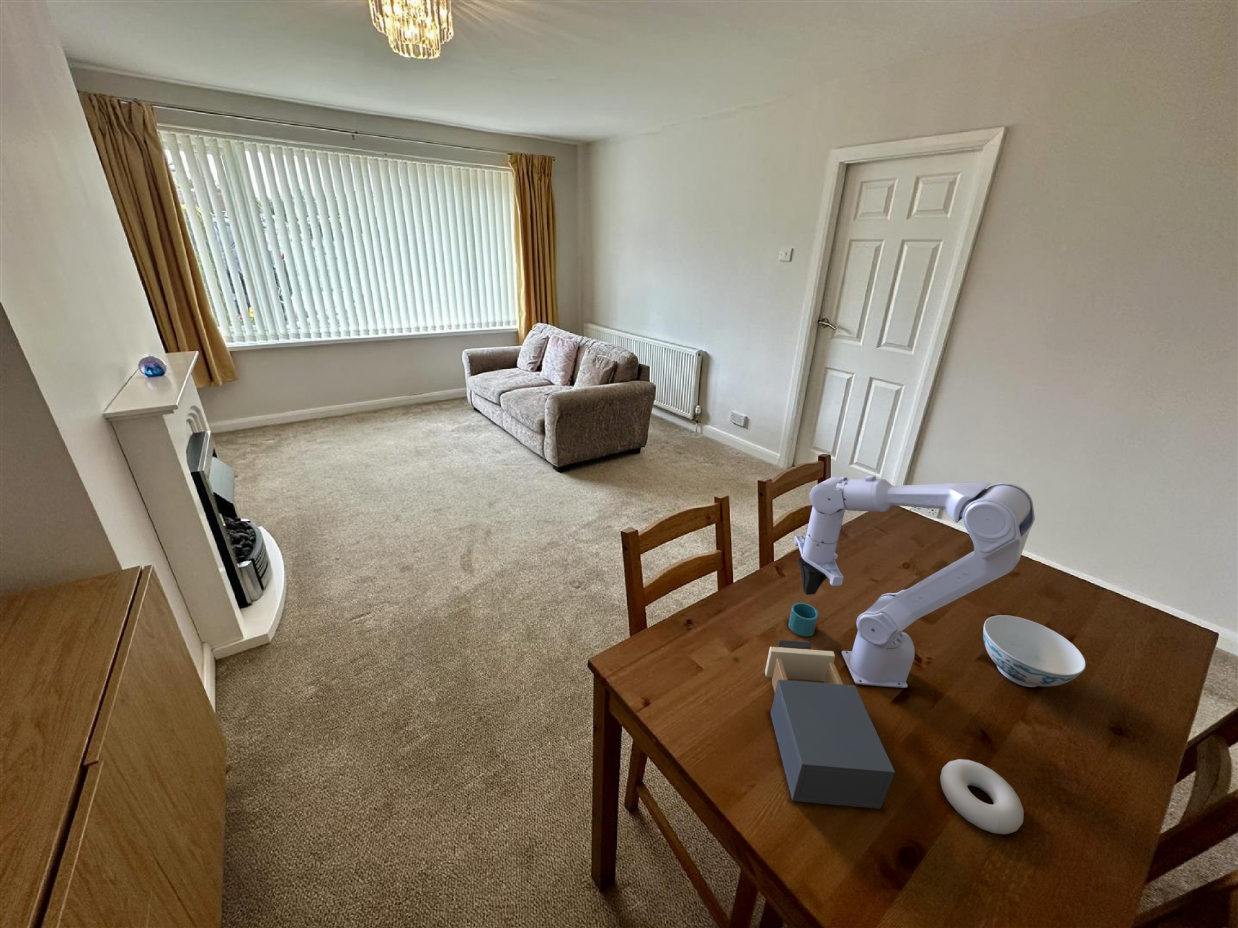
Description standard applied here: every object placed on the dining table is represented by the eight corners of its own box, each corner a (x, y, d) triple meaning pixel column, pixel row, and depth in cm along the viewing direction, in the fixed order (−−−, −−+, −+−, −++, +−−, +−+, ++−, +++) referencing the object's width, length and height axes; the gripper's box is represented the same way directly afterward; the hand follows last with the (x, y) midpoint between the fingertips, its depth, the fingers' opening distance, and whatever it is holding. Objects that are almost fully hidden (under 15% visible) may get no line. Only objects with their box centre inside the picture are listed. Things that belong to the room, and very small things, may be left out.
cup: (810, 619, 105) (814, 603, 103) (817, 637, 100) (821, 620, 99) (785, 618, 106) (789, 601, 104) (791, 635, 101) (795, 618, 99)
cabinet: (770, 713, 83) (777, 679, 80) (844, 719, 83) (855, 685, 79) (792, 800, 70) (802, 764, 67) (880, 808, 69) (895, 772, 66)
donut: (981, 766, 76) (922, 770, 75) (989, 752, 74) (928, 755, 73) (1037, 837, 66) (970, 842, 66) (1047, 822, 65) (979, 826, 64)
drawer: (760, 654, 94) (765, 630, 92) (819, 659, 94) (825, 634, 91) (781, 737, 78) (788, 710, 76) (853, 743, 78) (862, 716, 75)
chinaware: (1090, 704, 87) (1109, 673, 84) (1013, 707, 86) (1029, 676, 83) (1021, 643, 100) (1035, 614, 97) (953, 645, 99) (965, 615, 96)
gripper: (864, 555, 88) (847, 614, 93) (820, 516, 101) (808, 569, 106) (829, 558, 87) (814, 617, 92) (789, 518, 100) (778, 572, 105)
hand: (809, 592), depth 99 cm, fingers closed
